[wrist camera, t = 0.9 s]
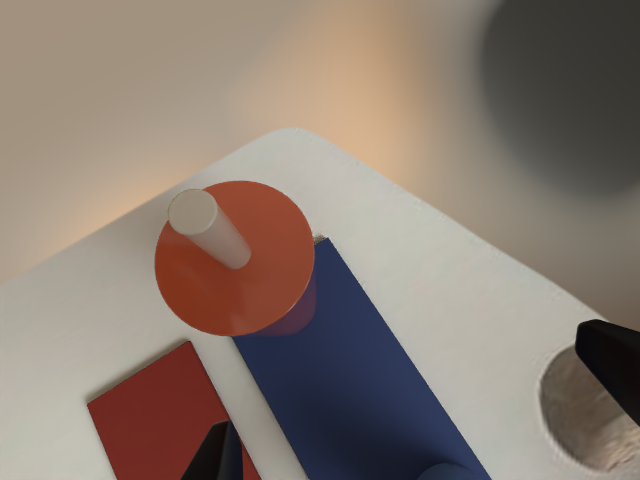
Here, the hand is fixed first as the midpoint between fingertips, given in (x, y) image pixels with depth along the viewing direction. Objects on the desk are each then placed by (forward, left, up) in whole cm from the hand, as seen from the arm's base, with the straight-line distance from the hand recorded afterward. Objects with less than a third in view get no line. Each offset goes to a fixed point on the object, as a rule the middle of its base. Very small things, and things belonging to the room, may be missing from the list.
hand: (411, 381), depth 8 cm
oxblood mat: (0, +12, -14) cm, 19 cm away
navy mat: (-2, +2, -14) cm, 15 cm away
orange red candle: (+6, +2, -14) cm, 15 cm away
